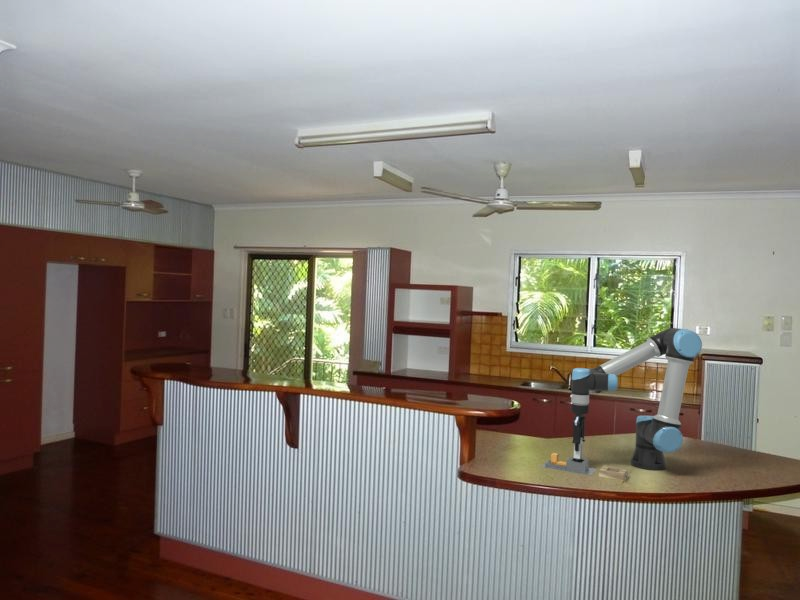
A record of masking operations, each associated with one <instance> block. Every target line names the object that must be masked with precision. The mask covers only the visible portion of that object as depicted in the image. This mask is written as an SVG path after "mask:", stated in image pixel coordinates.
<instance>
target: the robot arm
mask: <svg viewBox="0 0 800 600" xmlns="http://www.w3.org/2000/svg"><path fill="white" fill-rule="evenodd" d="M702 348H703V343H702V339H701V336H700V335H699V334H698V333H697V332H695V331H693V330H690V329H687V328H686V329H685V328H677V327H669V328H667V329H664V330H662V331H660V332H658V333H656V334H654V335H652V336H650V337H648V338H646V341H645V342H643V343H641V344H639V345H637V346H635V347H633V348H631V349H629V350H627V351H625V352H624V353H622V354H620V355H617V356H616V357H613V358H612V359H610V360H608V361H606V362H604V363H602V364H600V365H598V366H596V367H593V368H587V367H586V368H585V367H576V368H573V369H572V373H571V394H570V396H569V397H570V399H571V400H570V402H571V404H570V412H571V413H573V414H574V416H573V420H572V428H573V431H572V442H571V443H572V444H573V457H574V458H577V459H580V454H581V444H580V438H581V437H582V438H583V439H582V455H584V454H583V449H584V442H586V439H585V427H586V419H587V418H586V416H585V415H587V414H589V412H590V411H589V410H590V406H589V404H590V392H591V391H597V392H599V391H600V392H615V391H617V390H618V387H619V380H618V376H619V375H621V374H623V373H625V372H627V371H629V370H631V369H632V368H635V367H636V366H639V365H641V364H643V363H645V362H647V361H649V360H650V359H652V358H653V359H654V357H656V358H660V357H662V356H663V355H665V359H666V360H667V365H666V368H665V374H664V379H663V385H662V389H661V394H660V400H659V405H658V409H657V414H655V415H638V416H637V417H636V421H635V447H634V450H633V453H632V455H631V458H630V464H631V466H633V467H636V468H639V469H643V470H649V471H650V470H651V471H663V470H665V469H666V468H667V461H666V458H665V455H664V453H667V454H669V453H670V454H671V453H674V452H676V451H678V450H679V449H680V448H681V447H682V445H683V443H684V436H683V433H682V432H681V426H682V422H680V420H679V418H680V412H681V407H682V403H683V402H682V401H683V397H684V392H685V387H686V381H687V377H688V372H689V367H690V366H691V365H692V364H693V363H694V362H695V357H696V356H698V355H699V354H700V353H701V351H702Z"/></svg>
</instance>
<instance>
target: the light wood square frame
mask: <svg viewBox="0 0 800 600" xmlns="http://www.w3.org/2000/svg"><path fill="white" fill-rule="evenodd" d="M628 474H629V469H628V468H623V467H617V466H612V465H611V466H610V465H602V467H600V469H598V477H601V478H607V479H613V480H620V481H622V482H621V483H622V484H625V482H626V480H627V479H628Z"/></svg>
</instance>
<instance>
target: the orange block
mask: <svg viewBox="0 0 800 600" xmlns="http://www.w3.org/2000/svg"><path fill="white" fill-rule="evenodd" d="M550 456H551V457H550V460H551V464H558V465H564V466H566V461H561V460H559V453H556V452H553V453H551V455H550Z"/></svg>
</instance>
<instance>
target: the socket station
mask: <svg viewBox="0 0 800 600" xmlns="http://www.w3.org/2000/svg"><path fill="white" fill-rule="evenodd" d="M565 462H566V466H564V465H558V464H551V459H550V460H547V461H545V462H544V463H543V464H542V465H540V466H539V468H544V469H548V470H549V469H550V470H554V471H555V470H556V471H561V472H568V473H573V474H574V473H575V474H579V475H586V476H592V475H593V474H594V473H595V472H596V471H597V468H594V467H590V459H588V458H582V462H577V461H574V456H570V457H569V458H568V459H566V461H565Z"/></svg>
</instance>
